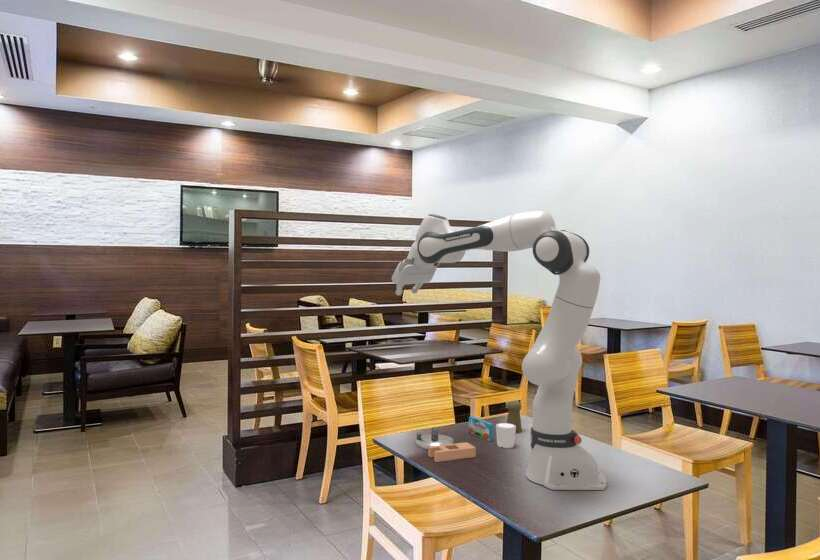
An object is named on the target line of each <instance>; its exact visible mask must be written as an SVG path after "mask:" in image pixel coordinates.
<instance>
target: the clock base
mask: <svg viewBox="0 0 820 560" xmlns="http://www.w3.org/2000/svg"><path fill="white" fill-rule="evenodd" d="M430 429H431V431H430V432H431V433H430V434H428V433H427V434H423V435H422V432H416V438H415V445H416V446H417V447H418V448H419V449H422V450H426V451H428V447H430V446H439V445H447V444H455V441H454V438H453V437H451V436H449V435H445V434H439V427H431V428H430Z"/></svg>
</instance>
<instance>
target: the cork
mask: <svg viewBox="0 0 820 560" xmlns="http://www.w3.org/2000/svg"><path fill="white" fill-rule="evenodd" d="M506 407H507V410H508V412H507V419H506V423H510V424H514V425H515V426H516V432H515V434H521V433H522V432H523V430H522V420H521V419H522V418H521V412H520V411H521V410H522V403H520V402H519V401H516V400H515V401H513V400H512V401H508V402H507V404H506Z"/></svg>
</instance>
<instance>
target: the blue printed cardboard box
mask: <svg viewBox="0 0 820 560" xmlns="http://www.w3.org/2000/svg"><path fill="white" fill-rule="evenodd" d="M493 429H494V424H493V423H492V422H489V421H486V420H483V419H481V418H478V417H476V416H473V415H471V416H469V417H468V434H470V433H471V435H472V434H473V436H475V437H477V436H478V437H477V438H479V437H480V438H479V439H482V440H484V439H485V440H484V441H486V440H487V441H486V442H493V440H494V439H493V436H494V435H493V434H494V430H493Z"/></svg>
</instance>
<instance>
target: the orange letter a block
mask: <svg viewBox="0 0 820 560" xmlns="http://www.w3.org/2000/svg"><path fill="white" fill-rule="evenodd" d="M476 450H477V448H476V446H474V445H472V444H471V443H469V442H458V443H457V442H456V443H454V444H447V445H439V446H430V447H428V450H427V452H428V453H427V455H428V456H427V457H429V458H434V459H433V460H434V462H435V463H439V462H440V463H441V462H447V461H455V460H463V459H469V458H476V456H477V455H476V453H477V451H476Z"/></svg>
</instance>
